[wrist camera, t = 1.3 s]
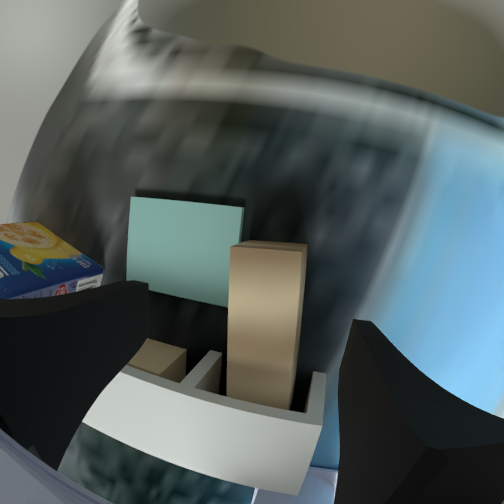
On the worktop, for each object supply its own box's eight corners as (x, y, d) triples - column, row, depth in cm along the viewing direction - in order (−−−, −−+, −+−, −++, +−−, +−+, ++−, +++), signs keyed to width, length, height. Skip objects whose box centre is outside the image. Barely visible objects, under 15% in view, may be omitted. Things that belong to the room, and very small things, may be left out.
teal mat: (233, 305, 23) (231, 307, 22) (130, 282, 25) (126, 284, 24) (244, 207, 22) (242, 207, 21) (135, 196, 24) (131, 196, 23)
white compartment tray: (307, 440, 23) (297, 495, 16) (120, 387, 27) (79, 420, 20) (326, 373, 22) (322, 426, 15) (116, 322, 25) (67, 348, 19)
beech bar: (293, 397, 23) (284, 431, 18) (243, 390, 24) (226, 421, 19) (307, 243, 21) (302, 251, 17) (249, 239, 22) (230, 246, 18)
